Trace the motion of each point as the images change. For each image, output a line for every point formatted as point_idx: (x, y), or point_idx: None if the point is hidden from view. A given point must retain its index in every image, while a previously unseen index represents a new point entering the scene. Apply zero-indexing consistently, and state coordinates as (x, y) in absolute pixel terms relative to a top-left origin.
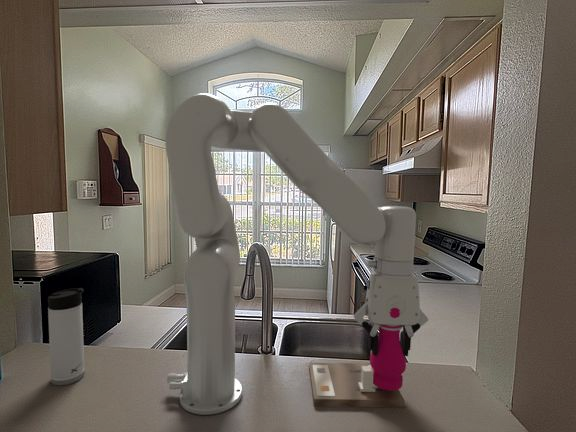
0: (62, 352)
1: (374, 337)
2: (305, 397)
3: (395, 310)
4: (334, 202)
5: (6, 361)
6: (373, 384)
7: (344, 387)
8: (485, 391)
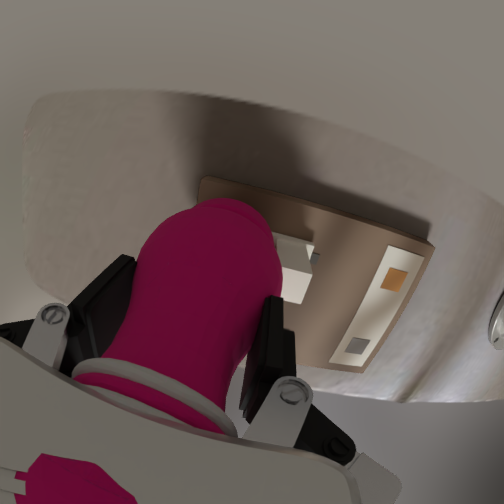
0: None
1: (277, 372)
2: (425, 274)
3: None
4: None
5: None
6: None
7: (344, 273)
8: (25, 201)
